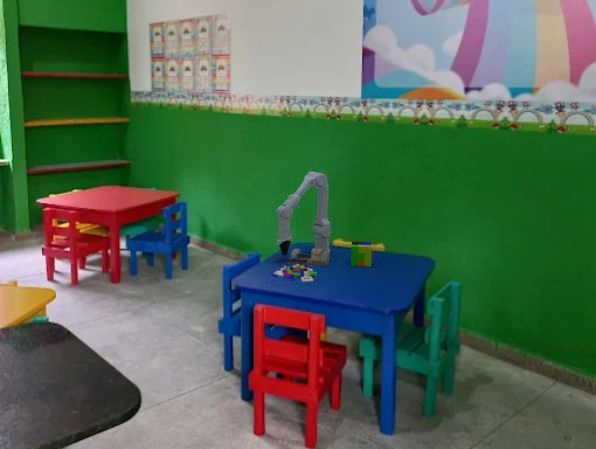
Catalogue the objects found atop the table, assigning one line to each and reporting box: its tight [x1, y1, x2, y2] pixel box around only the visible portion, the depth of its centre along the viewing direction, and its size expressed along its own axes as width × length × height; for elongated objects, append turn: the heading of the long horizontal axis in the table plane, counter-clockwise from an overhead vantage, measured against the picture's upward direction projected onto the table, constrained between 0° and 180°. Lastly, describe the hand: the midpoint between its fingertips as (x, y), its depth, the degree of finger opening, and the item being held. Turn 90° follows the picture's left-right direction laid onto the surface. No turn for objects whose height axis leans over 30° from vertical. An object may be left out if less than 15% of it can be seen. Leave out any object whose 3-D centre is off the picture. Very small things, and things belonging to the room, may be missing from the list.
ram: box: [290, 248, 301, 259], centre depth 315 cm, size 8×3×4 cm, turn 167°
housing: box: [310, 248, 322, 261], centre depth 312 cm, size 4×4×5 cm
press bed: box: [286, 250, 332, 268], centre depth 314 cm, size 12×20×6 cm, turn 77°
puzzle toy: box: [350, 241, 373, 267], centre depth 311 cm, size 10×10×10 cm
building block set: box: [271, 263, 318, 283], centre depth 295 cm, size 25×20×4 cm
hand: (284, 255), depth 316 cm, fingers closed
